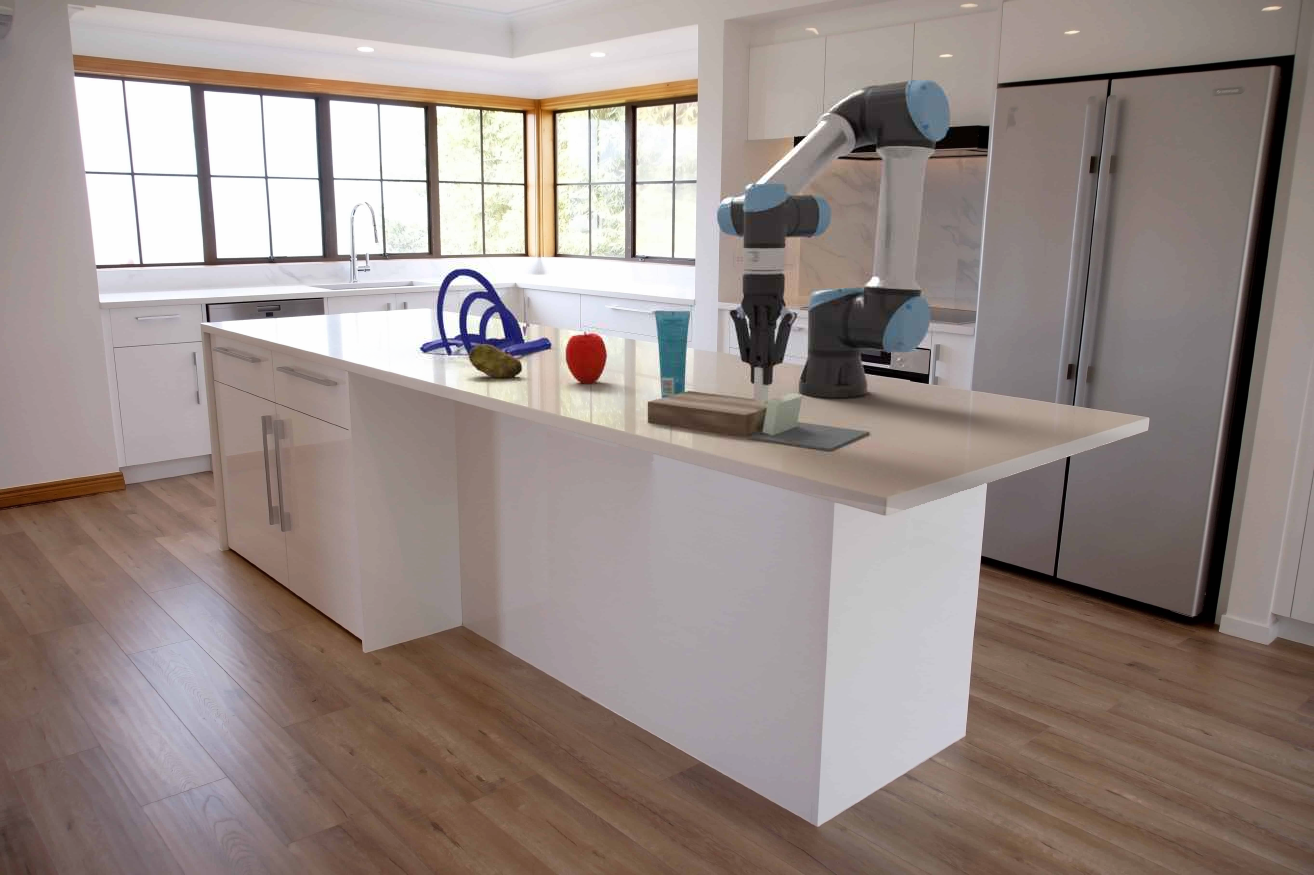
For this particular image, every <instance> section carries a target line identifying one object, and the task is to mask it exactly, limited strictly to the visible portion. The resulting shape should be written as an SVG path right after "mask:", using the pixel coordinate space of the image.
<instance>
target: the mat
mask: <svg viewBox="0 0 1314 875" xmlns="http://www.w3.org/2000/svg"><path fill="white" fill-rule="evenodd" d="M870 433H871V432H870V431H868V430H867V431H866V430H860V429H854V428H853V429H852V428H845V427H844V428H843V427H836V426H831V425H830V426H829V425H823V424H816V423H808V422H801V421H798V422H797V427H794V428H791V429H789V430H786V431H783V432H780V433H778V434H775V435H769V434H766V433H763V431H761V432H759V433H756V434H753V435H750V436H747V439H748V440H749V439H750V440H754V441H760V442H765V443H766V442H767V443H771V444H772V443H773V444H780V445H787V446H793V447H800V448H806V449H812V450H821V451H826V452H832V451H833V450H836V449H839V448H840V447H843V446H845V445H847V444H849V443H851V442H855V441H856V440H859V439H861V438H863V437H866V436H868V435H870Z"/></svg>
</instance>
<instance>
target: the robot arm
mask: <svg viewBox="0 0 1314 875" xmlns="http://www.w3.org/2000/svg"><path fill="white" fill-rule="evenodd" d="M950 122H951V108H950V104H949V101H948V97H947V95H946V94H945V91H944V89H943V88H942V86H940V84H938V83H936V82H935V81H933V80H929V79H928V80H927V79H926V80H914V79H913V80H909V81H902V82H894V83H888V84H877V85H876V84H875V85H868V86H865V87H862V88H859V89H857V90H856V91H853V92H852V93H850V94H848V95H847V96H845V97H844V98H842V99H841V100H840V101H838V102H836V103H835V104H834V105H833V106H832V107H830V108H829V109H827V111H825V112H824V113H823V114H822V115H821V116H820V117H819V118H818V119H817V121H816V123H815V126H814V129H813V130H812V131H811V132H809V133H808V134H807V136H805V137H804V138H803V139H802V140H801V141H800V142H799V143H798V144H797V145H796V146H795V147H793V148H792V149H791V150H790V151H789V152H788V153H787V154H786V155H785V156H784V157H783V158H781V160H779V161H778V162H777V163H776V164H775V165H774V166H773V167H772V168H771V169H769V170H768V172H766V173H765V174H764V175H763V176H762V177H761V178H759V180H758V181H757V182H756V183H750V184H747V185H746V186H745V188H744V193H743V194H741V195H734V196H728V197H726V198H724V199H723V200H722V201H721V202H720V204H719V205H718V208H717V212H716V220H717V224H718V227H719V228H720V230H721V231H722V232H723V234H725V235H728V236H734V237H739V238H743V246H742V249H743V250H742V251H743V252H742V269H743V270H744V271H746V272H745V273H744V274H743V275H742V290H741V291H742V293H743V297H742V299H741V302H740V303H741V304H740V306H738V307H736V308H735V309H731V310H730V311H729V315H730V318H731V319H732V321H733V323H734V327H735V333H736V339H737V344H738V349H739V355H740V359H741V362H743V363H746V364H748V365H749V366H750V382H751V384H753V399H754V403H764V402H767V401H768V400H769V394H770V393H769V392H770V391H769V390H770V389H769V388H770V385H772V384H773V381H774V380H773V378H774V377H773V374H774V373H773V372H774V367H775V366H777V365H780V364H782V363H784V358H785V354H786V351H787V346H788V341H789V338H790V334H791V330H792V326H793V324H794V323H795V321H796V319H797V317H798V314H797V312H794V311H793V312H792V311H790V310H789V309H788V308H787V307H786V306H787V305H786V302H785V299H784V296H785V294H784V293H785V288H786V287H785V286H786V285H785V280H786V279H785V278H786V276H785V275H784V273H782V271H784V270H786V239H787V238H809V239H811V238H812V237H813V238H814V237H819V236H821V235H823V234H824V233H825V232H826V231H827V230H828V229H829V227H830V224H831V223H832V222H831V221H832V211H831V206H830V205H829V203H828V202H827V200H826V199H825V198H823V197H821V196H818V195H813V194H803V195H801V193H802V192H804V190H805V189H806V188H808V187H809V186H810V185H811V184H812V183H813V182H814V181H815V180H816V179H817V178H818V177H819V176H820V175H821V174H822V173H823V172H825V170H826V169H828V167H830V166H831V165H832V164H833V163H834V162H835V161H836V160H837V159H839V157H845V156H847V155H849V154H850V153H851V152H852V151H853V150H855V149H857V148H861V147H864V146H868V145H870V146H871V145H876V146H875V151H876V153H877V154H878V155H879V156H880V157H881V159H882V165H881V176H880V186H879V187H880V189H879V199H878V212H877V220H876V221H877V222H876V233H875V234H876V235H875V243H874V244H875V246H874V253H873V254H874V256H873V257H874V258H873V266H872V276H871V279H870V280H869V281H867V282H866V283H865V284H864V286H863V287H862V286H855V287H854V286H852V287H842V288H841V287H840V288H833V289H823V290H822V289H821V290H815V291H813V292H812V293H811V295H810V296H809V302H808V307H809V308H808V309H807V313H808V315H807V316H808V317H807V318H808V321H807V322H808V323H807V357H806V361H805V362H804V365H803V369H802V372H801V375H800V377H799V380H798V393H800V394H802V395H804V396H811V397H818V398H829V399H830V398H833V399H835V398H836V399H839V398H841V399H843V398H856V397H862V396H865V395H867V393H868V384H869V383H868V381H867V380H868V379H867V376H866V373H865V369H864V365H863V362H862V356H861V355H862V349H863V350H870V351H871V350H872V351H879V352H880V351H882V352H886V353H889V354H890V353H892V354H893V353H902V354H903V353H904V354H906V353H910V352H912V351H914V350H916V349H917V348H918V347H919V345H921V343H922V342H923V341H924V339H925V337H926V335H927V333H928V330H929V327H930V323H931V317H932V316H931V313H932V312H931V309H930V305H929V302H928V301H927V299H925V298H923V297H921V296H922V287H921V286H920V285H919V284H918V283H917V281H916V278H915V277H916V271H917V270H916V268H917V260H918V258H917V257H918V251H919V250H918V249H919V248H918V246H919V237H920V227H921V218H922V217H921V215H922V207H923V196H924V186H925V176H926V175H925V173H926V165H927V160H928V159H929V158H930V157H931V156H933V154H935V152H936V142H940V141H941V140H943V139H944V138H945V137H946V135H947V132H948V131H949V130H950V125H951V124H950ZM746 317H747V318H748V320H747V318H746ZM779 317H780V318H779ZM778 319H780V323H779V326H778V329H777V323H778V322H777V321H778ZM776 329H777V333H776Z"/></svg>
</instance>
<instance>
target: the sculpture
mask: <svg viewBox="0 0 1314 875" xmlns="http://www.w3.org/2000/svg"><path fill="white" fill-rule="evenodd" d="M461 276H463V277H464V276H466V277H469V278H471V279H474V280H476V281H477V282H478V283H479V284H480V285H481V286H483V288H484V289H485V290H486V291H485V290H484V291H482V290H479V291H478V290H477V291H473V292H471V293H469V294H468V295H467V296H466V297H465V298H464V300H463V302H462V303H461V306H460V310H459V315H458V326H459V333H460V334H457V335H455V336H454V337H449V338H447V334H446V331H445V330H446V329H445V325H444V317H443V316H444V315H443V314H444V301H445V297H446V295H447V290H448V289H449V286H450V285H451V283H452V282H453V281H454V280H455V279H458V278H459V277H461ZM477 299H483V300H486V301H488V302H490V303H492V304H493V305H492V306H490V307H488V308H487V309H486V310H485V311H484V312H483V314H482V316H481V318H480V322H479V325H478V333H468V328H467V327H468V326H467V322H468V320H467V319H468V313H469V309H470V307H471V306H472V304H473V303H474V301H476V300H477ZM495 313H496V314H497V313H498V314H499V318H500V322H501V324H502V329H503V336H504V338H503V337H502V338H495V337H491V338H487V326H488V323H489V321H490V319H491V317H492V316H493V315H494V314H495ZM436 318H437V325H438V330H439V334H440V339H437V340H433V341H427V342H425V343H423V344H421V346H420V347H419V350H420V351H421V352H423V353H424V354H425V353H429V352H432V351H436V350H439V349H443V348H444V349H445V352H446V353H447V355H448V357H450V356H451V355H452V353H453V351H452V349H451V347H456V348H457V349H459V348H461V347H463V346H464V348H465V351H466V353H467V354H468V355H469V352H470V350H471V349H472V348H473V347H475V346H477V345H479V344H488V345H492V346H494V347H496V348H498V349H500V350H501V351H503V352H505V353H507V354H509V355H511V356H513V357H517V356H525V355H529V354H531V353H532V352H533V353H537V352H540V351H539V350H541V351H545V350H544V349H546V350H550V349H551V348H552V345H553V344H552V342H551V340H550V339H549V338H547V337H542V338H539V339H535V340H531V341H526V339H525V338H524V337H525V336H526V334H527V333H526V332H527V327H529V326H530V324H529V323H526V324H525V326H524V325H523V326H522V329H521V326H520V324H519V321H518V320H517V318H516V317H515V315H514V314H513V312H511V311H510V310H509V309H508V308H507V306H506V305H505V304H504V303H503V301H502V300H501V298H500V296H499V294H498V293H497V291H496V289H495V288H494V286H493V284H492V283H491V282H490V281H489V280H488V279H487V278H486V277H485V276H484V275H483V274H482V273H480V272H479V271H476V270H474V269H470V268H458V269H457V268H456V269H454V270H452V271H450V272H449V273H448V274H447V275H445V277H444V279H442V283H441V285H440V288H439V291H438V294H437V301H436ZM522 331H523V332H522ZM536 351H537V352H536Z"/></svg>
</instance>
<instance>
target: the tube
mask: <svg viewBox="0 0 1314 875" xmlns="http://www.w3.org/2000/svg"><path fill="white" fill-rule="evenodd" d="M654 316H655V317H654V318H655V324H656V334H657V344H658V345H657V346H658V358H659V372H660V373H659V376H660V391H661V398H664V397H668V396H672V395H675V394H679V393H683V392H686V387H685V386H686V368H687V367H686V365H687V363H686V362H687V349H688V348H687V347H688V346H687V345H688V334H689V333H688V332H689V325H690V324H689V323H690V320H691V318H690V317H691V311H690V310H683V311H682V310H675V311H674V310H654Z"/></svg>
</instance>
